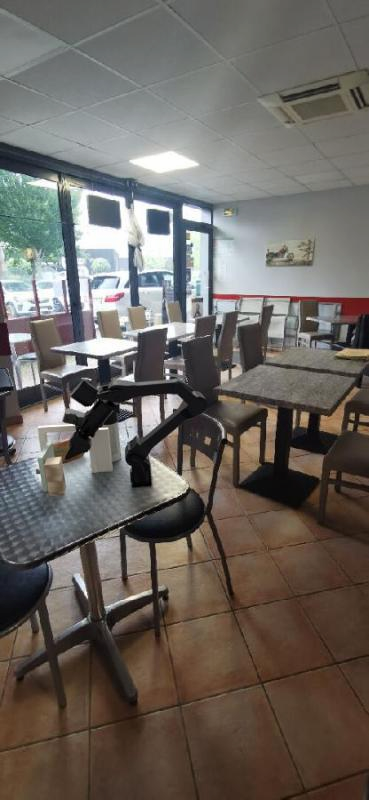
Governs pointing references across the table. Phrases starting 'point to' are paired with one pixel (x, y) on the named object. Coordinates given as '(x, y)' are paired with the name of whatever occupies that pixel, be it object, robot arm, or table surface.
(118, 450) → the spray can
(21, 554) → the table surface
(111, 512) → the table surface
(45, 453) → the door
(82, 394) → the robot arm
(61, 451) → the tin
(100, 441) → the wall frame
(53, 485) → the block
